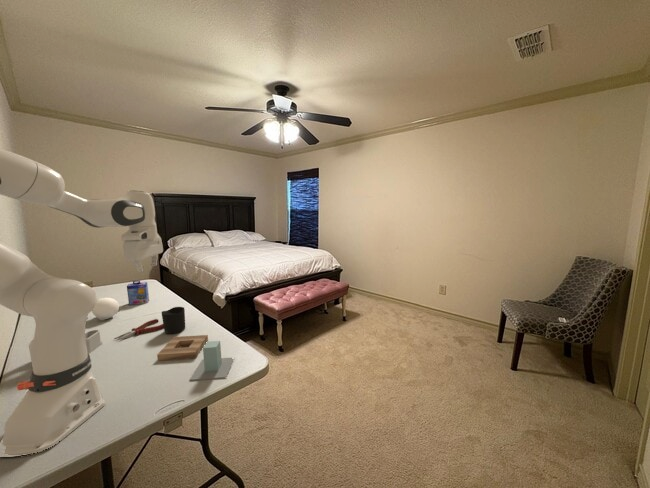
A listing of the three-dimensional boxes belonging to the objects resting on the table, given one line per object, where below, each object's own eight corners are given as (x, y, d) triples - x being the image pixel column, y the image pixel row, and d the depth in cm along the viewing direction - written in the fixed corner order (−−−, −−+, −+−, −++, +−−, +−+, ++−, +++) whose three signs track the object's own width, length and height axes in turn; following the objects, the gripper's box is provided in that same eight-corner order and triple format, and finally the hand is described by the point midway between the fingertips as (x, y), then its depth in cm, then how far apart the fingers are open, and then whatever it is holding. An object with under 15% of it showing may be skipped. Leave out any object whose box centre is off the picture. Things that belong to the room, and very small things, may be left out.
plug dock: (196, 358, 102) (195, 352, 102) (157, 360, 101) (157, 354, 101) (208, 340, 116) (207, 334, 116) (174, 342, 115) (174, 336, 115)
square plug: (218, 371, 93) (216, 347, 92) (204, 372, 93) (202, 348, 92) (221, 363, 98) (220, 340, 97) (209, 364, 97) (207, 341, 96)
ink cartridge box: (128, 305, 160) (125, 282, 158) (130, 302, 165) (127, 280, 163) (147, 302, 164) (145, 280, 162) (149, 300, 169) (146, 278, 167)
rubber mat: (226, 378, 90) (226, 376, 90) (189, 380, 89) (189, 379, 89) (234, 358, 102) (234, 357, 102) (202, 360, 101) (202, 359, 101)
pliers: (110, 338, 120) (109, 333, 120) (157, 322, 137) (157, 317, 136) (121, 345, 114) (120, 340, 113) (169, 327, 131) (168, 322, 130)
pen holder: (165, 328, 129) (163, 308, 128) (187, 324, 132) (185, 305, 131) (161, 336, 120) (159, 315, 119) (184, 333, 123) (182, 312, 122)
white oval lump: (120, 321, 142) (109, 317, 150) (125, 298, 144) (113, 296, 152) (91, 322, 131) (80, 318, 139) (96, 298, 133) (85, 295, 141)
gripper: (149, 231, 113) (153, 263, 115) (117, 236, 93) (122, 275, 95) (165, 231, 113) (168, 262, 115) (136, 236, 93) (141, 274, 95)
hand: (147, 268), depth 105 cm, fingers open, 8 cm apart
